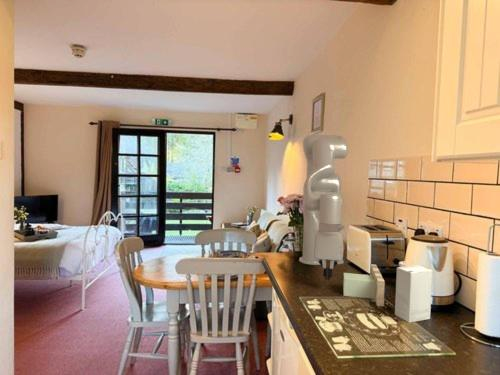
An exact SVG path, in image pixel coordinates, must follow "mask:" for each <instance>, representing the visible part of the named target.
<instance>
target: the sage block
mask: <svg viewBox="0 0 500 375" xmlns="http://www.w3.org/2000/svg"><path fill="white" fill-rule="evenodd" d="M342 280H343V282H342V284H343V285H342V290H343V291H342V292H343V296H344V297H352V298H363V299H371V300H375V299H374V296H375V280H374V278H373V275H370V274H360V273H351V272H343V279H342Z"/></svg>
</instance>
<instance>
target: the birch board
mask: <svg viewBox="0 0 500 375" xmlns="http://www.w3.org/2000/svg"><path fill="white" fill-rule="evenodd" d="M369 270H370V271H369V273H370V274H369V275H373V278H374V280H375V296H374V299H373V300H374V302H375V304H376V306H377V307H384V305H385V285H386V282H385V280H384V278H383V276H382V273H381V272H380V269H379V268H378V266H377V264H373V263H371V264H370V269H369Z"/></svg>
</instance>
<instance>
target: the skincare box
mask: <svg viewBox="0 0 500 375" xmlns="http://www.w3.org/2000/svg"><path fill="white" fill-rule="evenodd" d="M432 285H433V270H432V269H429V268H427V267H423V266H421V265H419V264H417V265H414V266H406V267H400V266H399V267H396V280H395V302H394V304H395V305H394V316H396V317H399V318H400V319H401V320H403V321H404V322H407V323H409V324H410V323H415V322H420V321H426V320H430V319H431V309H432V306H431V305H432Z"/></svg>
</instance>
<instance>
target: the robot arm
mask: <svg viewBox="0 0 500 375" xmlns="http://www.w3.org/2000/svg"><path fill="white" fill-rule="evenodd" d="M348 144H349V143H348V142H347V140H346V138H344V137H342V136H341V135H329V134H328V135H326V134H325V135H324V134H311V135H306V136H305V137H304V138H303V142H302V148H303V152H304V156H305V158H306V165H307V166H306V179H305V181H304V182H303V183H304V184H303V199H302V212H303V234H302V235H303V237H302V238H303V239H302V256H300V257H299V259H298V262H300V263H301V264H305V265H312V266H319V265H320V266H321V267H322V268H323V271H322V272H323V274H322V275H323V277H324V279H325V281H326V280H328V281H330V280H331V278H332V277H333V269H334V268H335V267H336V266H337V265H343V264H344V263H345V262H344V258H343V257H344V236H343V232H342V230H345V225H343V224H341V223H342V222H341V219H342V218H341V217H342V206H343V197H342V178H341V176H340V175H339V174H338V173H336V163H335V159H337V160H338V159H341V160H342V159H345V158H347V157H348V154H349V145H348ZM327 261H329V265H327Z"/></svg>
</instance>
